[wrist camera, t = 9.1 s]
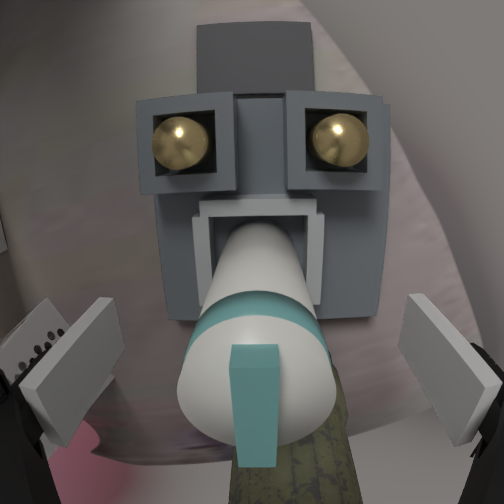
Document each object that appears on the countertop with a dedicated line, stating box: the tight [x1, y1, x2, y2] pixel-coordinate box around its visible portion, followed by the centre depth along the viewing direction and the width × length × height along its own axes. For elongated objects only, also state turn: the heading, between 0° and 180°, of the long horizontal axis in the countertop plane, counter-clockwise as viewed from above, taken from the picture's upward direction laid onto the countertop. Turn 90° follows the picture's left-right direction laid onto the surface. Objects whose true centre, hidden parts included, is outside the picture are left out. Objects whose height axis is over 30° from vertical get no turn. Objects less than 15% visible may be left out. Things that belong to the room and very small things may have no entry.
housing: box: [136, 90, 390, 320], centre depth 21 cm, size 16×16×5 cm
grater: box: [0, 297, 115, 461], centre depth 19 cm, size 10×10×20 cm
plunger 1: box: [152, 117, 215, 170], centre depth 18 cm, size 3×3×4 cm
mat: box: [197, 21, 314, 95], centre depth 20 cm, size 6×8×1 cm
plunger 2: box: [306, 114, 369, 167], centre depth 17 cm, size 3×3×4 cm
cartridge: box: [177, 218, 336, 467], centre depth 15 cm, size 5×5×15 cm
